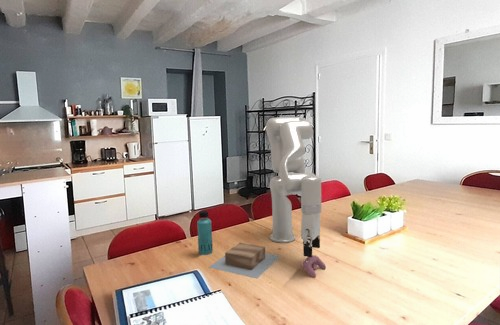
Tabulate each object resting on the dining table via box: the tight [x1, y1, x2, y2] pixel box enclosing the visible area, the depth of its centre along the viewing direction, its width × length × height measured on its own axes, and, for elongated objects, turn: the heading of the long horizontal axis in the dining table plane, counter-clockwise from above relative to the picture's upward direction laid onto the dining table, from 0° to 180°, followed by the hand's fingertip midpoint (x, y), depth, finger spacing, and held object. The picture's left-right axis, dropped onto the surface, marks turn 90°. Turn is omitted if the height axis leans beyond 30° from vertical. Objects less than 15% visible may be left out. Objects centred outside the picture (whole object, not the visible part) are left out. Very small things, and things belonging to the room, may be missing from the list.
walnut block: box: [224, 242, 266, 270], centre depth 133 cm, size 12×12×5 cm
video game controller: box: [301, 254, 327, 278], centre depth 126 cm, size 10×5×7 cm, turn 141°
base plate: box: [208, 252, 282, 279], centre depth 133 cm, size 22×22×2 cm
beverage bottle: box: [196, 210, 214, 256], centre depth 143 cm, size 6×7×20 cm
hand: (311, 251), depth 125 cm, fingers open, 9 cm apart
